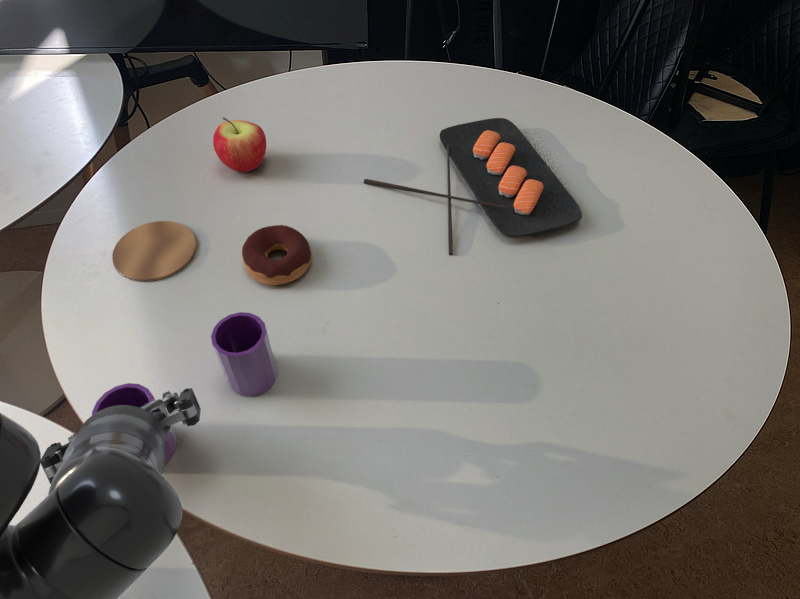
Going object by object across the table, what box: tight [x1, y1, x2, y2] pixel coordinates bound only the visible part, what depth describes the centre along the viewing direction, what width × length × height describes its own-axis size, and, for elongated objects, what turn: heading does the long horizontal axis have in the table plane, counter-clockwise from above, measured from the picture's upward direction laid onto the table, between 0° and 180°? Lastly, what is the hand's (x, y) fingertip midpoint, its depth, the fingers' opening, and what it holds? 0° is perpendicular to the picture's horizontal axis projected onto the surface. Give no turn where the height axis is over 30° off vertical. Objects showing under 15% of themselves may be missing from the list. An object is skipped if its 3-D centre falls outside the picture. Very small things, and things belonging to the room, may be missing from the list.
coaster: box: [111, 220, 198, 282], centre depth 89 cm, size 12×12×1 cm
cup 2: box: [210, 311, 278, 397], centre depth 73 cm, size 6×6×9 cm
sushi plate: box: [363, 117, 583, 256], centre depth 98 cm, size 29×30×4 cm
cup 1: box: [91, 382, 178, 465], centre depth 66 cm, size 6×6×9 cm
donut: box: [241, 224, 313, 286], centre depth 87 cm, size 10×10×4 cm
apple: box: [212, 116, 267, 173], centre depth 98 cm, size 8×8×10 cm
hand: (130, 416), depth 65 cm, fingers open, 8 cm apart
